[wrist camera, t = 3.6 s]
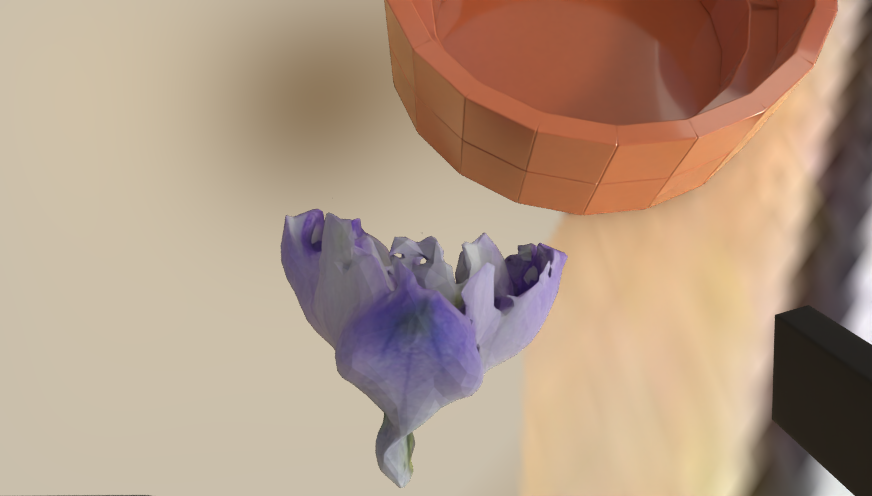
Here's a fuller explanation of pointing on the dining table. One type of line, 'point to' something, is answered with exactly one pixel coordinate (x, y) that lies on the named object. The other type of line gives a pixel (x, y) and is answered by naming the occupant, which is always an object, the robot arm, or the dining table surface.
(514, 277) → the flower
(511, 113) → the pot
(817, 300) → the dining table surface
